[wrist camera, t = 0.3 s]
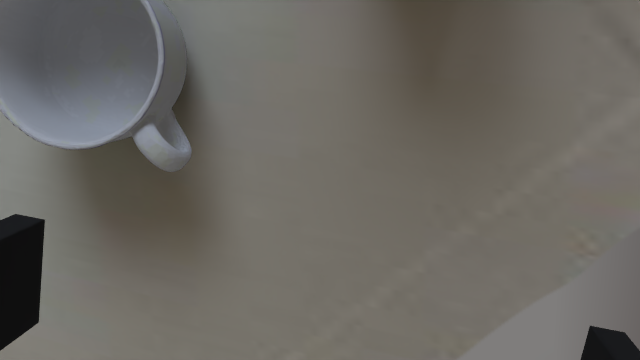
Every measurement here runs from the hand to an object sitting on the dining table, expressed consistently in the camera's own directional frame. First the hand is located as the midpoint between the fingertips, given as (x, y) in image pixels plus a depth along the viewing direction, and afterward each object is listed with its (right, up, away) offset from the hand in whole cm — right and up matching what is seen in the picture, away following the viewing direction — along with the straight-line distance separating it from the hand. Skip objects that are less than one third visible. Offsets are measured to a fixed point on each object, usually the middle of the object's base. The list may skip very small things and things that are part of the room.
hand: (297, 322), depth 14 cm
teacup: (-12, +11, +28) cm, 32 cm away
